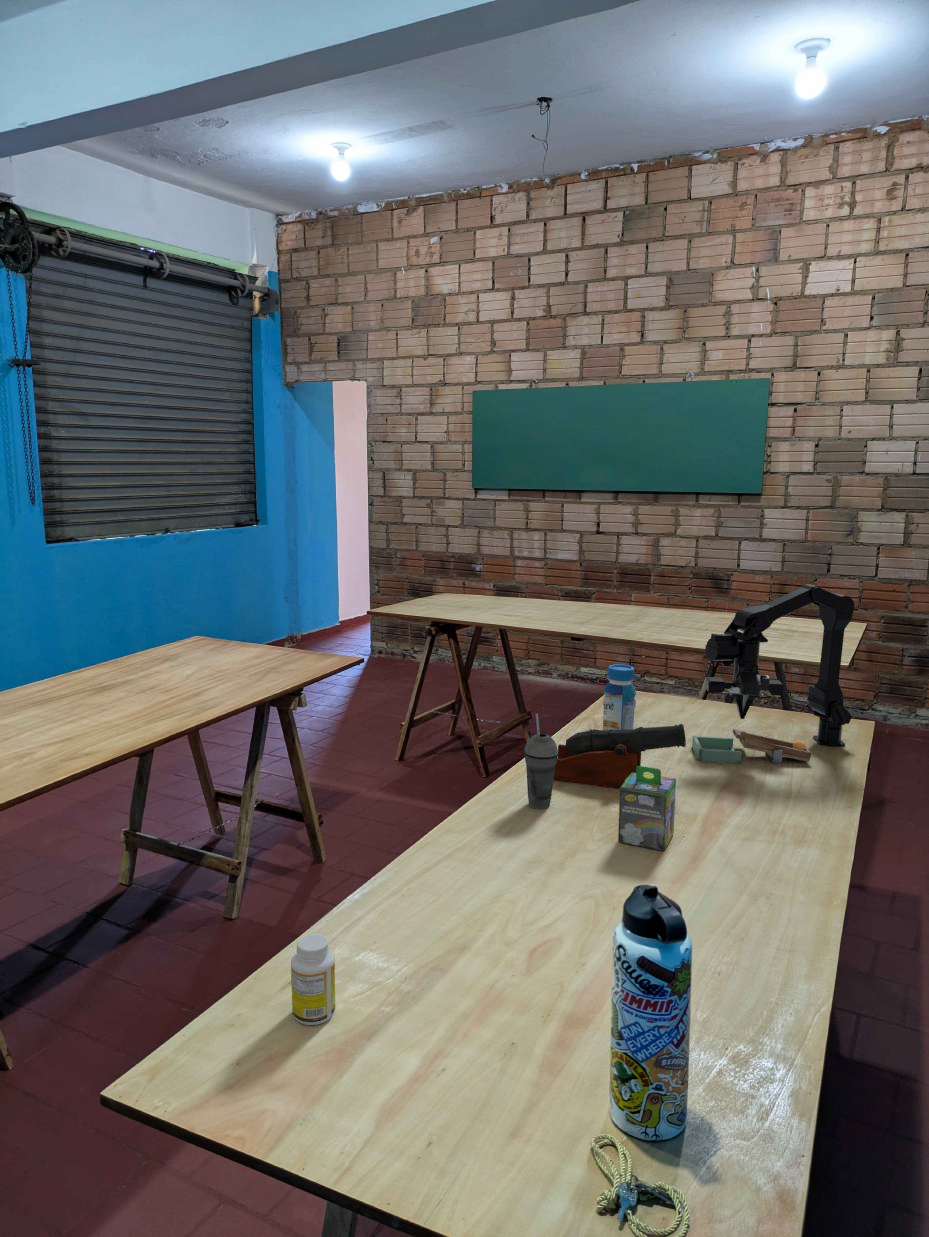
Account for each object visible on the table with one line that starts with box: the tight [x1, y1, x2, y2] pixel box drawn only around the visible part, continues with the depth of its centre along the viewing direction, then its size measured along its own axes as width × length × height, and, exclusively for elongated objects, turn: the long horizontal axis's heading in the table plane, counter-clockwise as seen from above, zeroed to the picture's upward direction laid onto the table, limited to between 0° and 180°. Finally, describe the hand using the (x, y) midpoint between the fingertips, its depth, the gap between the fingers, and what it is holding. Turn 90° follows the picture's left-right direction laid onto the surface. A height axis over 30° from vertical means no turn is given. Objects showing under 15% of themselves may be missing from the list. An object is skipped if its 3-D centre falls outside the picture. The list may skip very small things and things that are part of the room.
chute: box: [732, 728, 812, 763], centre depth 214 cm, size 12×16×2 cm
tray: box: [691, 735, 742, 765], centre depth 213 cm, size 11×10×3 cm
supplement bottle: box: [290, 933, 336, 1026], centre depth 110 cm, size 6×6×10 cm
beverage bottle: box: [602, 663, 637, 731], centre depth 221 cm, size 8×8×20 cm
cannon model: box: [553, 723, 687, 790], centre depth 193 cm, size 13×30×15 cm, turn 73°
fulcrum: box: [764, 749, 783, 765], centre depth 211 cm, size 8×2×4 cm, turn 173°
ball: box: [792, 740, 807, 751], centre depth 210 cm, size 3×3×3 cm
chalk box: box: [617, 765, 677, 852], centre depth 163 cm, size 9×9×15 cm
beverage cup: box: [523, 713, 558, 810], centre depth 178 cm, size 7×7×20 cm
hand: (741, 718), depth 217 cm, fingers closed
